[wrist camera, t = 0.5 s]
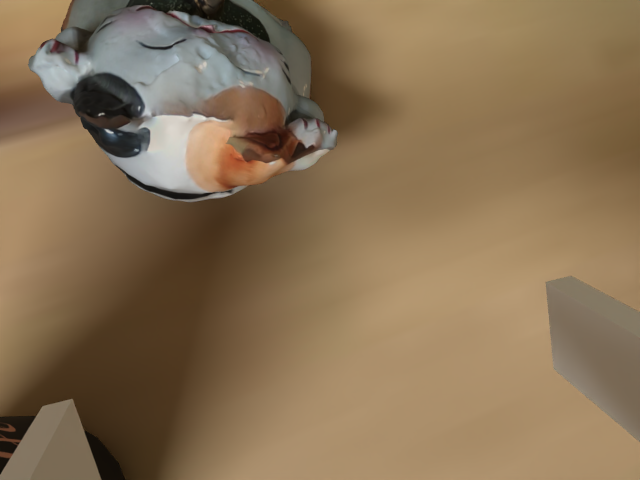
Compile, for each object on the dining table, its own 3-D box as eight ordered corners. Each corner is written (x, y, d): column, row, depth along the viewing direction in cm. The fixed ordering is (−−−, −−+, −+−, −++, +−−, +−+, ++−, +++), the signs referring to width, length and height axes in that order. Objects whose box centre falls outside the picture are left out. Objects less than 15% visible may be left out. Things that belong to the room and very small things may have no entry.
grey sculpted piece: (339, 39, 37) (408, -15, 23) (281, 215, 38) (314, 261, 25) (103, -55, 33) (23, -182, 20) (49, 142, 35) (-59, 149, 21)
